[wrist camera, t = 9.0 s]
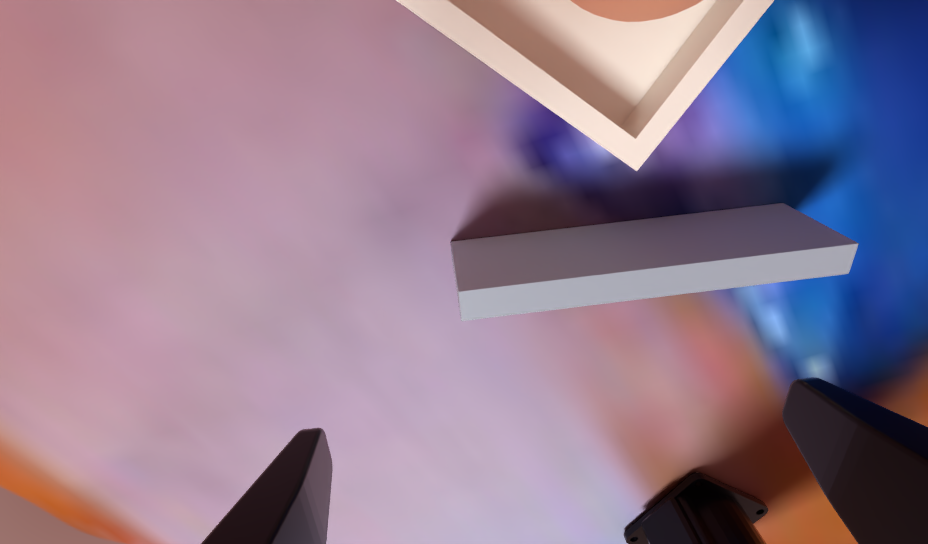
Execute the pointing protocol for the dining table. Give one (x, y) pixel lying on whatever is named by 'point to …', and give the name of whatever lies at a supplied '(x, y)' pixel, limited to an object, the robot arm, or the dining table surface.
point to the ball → (635, 8)
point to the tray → (600, 60)
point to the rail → (644, 259)
